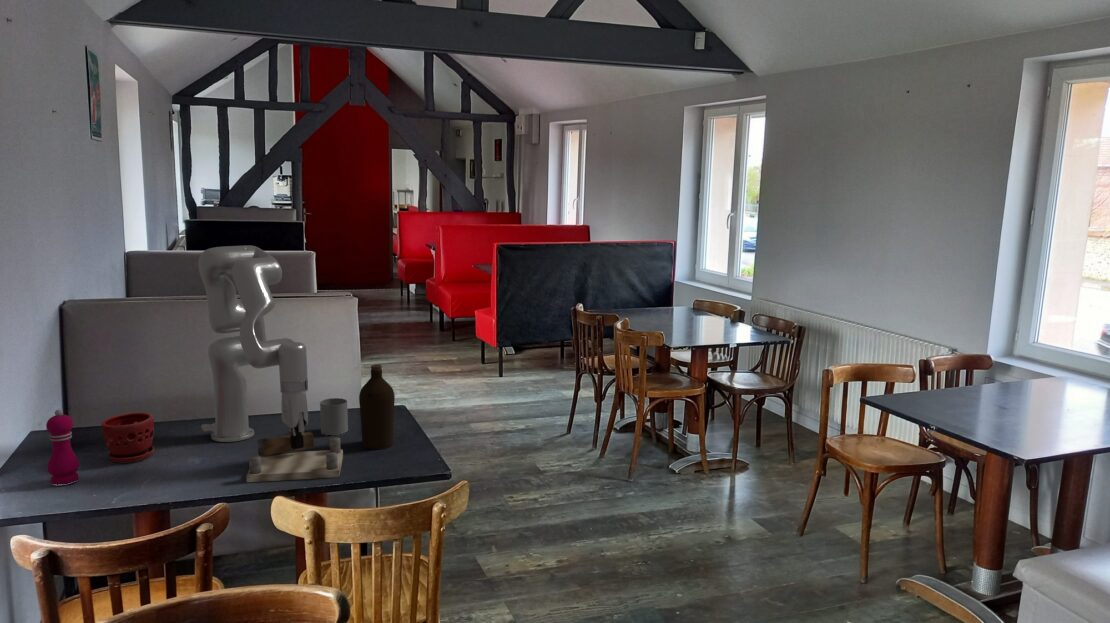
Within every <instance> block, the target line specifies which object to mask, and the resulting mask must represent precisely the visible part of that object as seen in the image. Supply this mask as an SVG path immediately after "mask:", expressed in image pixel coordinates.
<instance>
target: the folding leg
mask: <svg viewBox="0 0 1110 623" xmlns="http://www.w3.org/2000/svg"><path fill="white" fill-rule="evenodd" d="M290 435H292V434H287V435H279V436H273V437H266V438H261V439H258V440H257V454H258V455H270V454H276V453H285V452H296V451H300V450H306V449H313V448H314V447H315V444H314V433H313V432H312V431H306V432H305V431H304V432H303V442H304V447H303V448H299V449H292V448H291V440H290Z"/></svg>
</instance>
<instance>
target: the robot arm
mask: <svg viewBox="0 0 1110 623" xmlns="http://www.w3.org/2000/svg"><path fill="white" fill-rule="evenodd" d="M198 270H199V271H198V272H199V275H200V278H201V280H202V283H203V286H204V288H205V289H204V290H205V293H206V301H207V302H206V303H207V309H208V317H209V318H208V319H209V324H210V327H211V330H212V331H213V332H214V333H216V334H220V335H221V334H231V333H239V335H235V336H230V337H223V338H219V339H215V340H214V341H213V342H212V343H210V345H209V346H208V350H207V355H208V360H209V364H210V367H211V372H212V381H213V395H214V396H213V397H214V398H213V399H214V400H213V401H214V414H215V417H214V418H215V422H213V423H212V424H206V423H205V424H201V427H200V428H201V431H203V432H204V433H209V432H210V433H211V434H210V436H211V437H210V439H211V440H213V441H214V442H219V443H231V442H233V443H234V442H239V441H244V440H247V439H249V438H251V437H253V436H254V435H255V430H254V429H253V427H252V428H251V427H250V426H249V406H248V404H249V403H248V387H247V379H246V377H245V376H244V374H243V373H242V372H241V371H240V369H239V368H241V367H244V366H249V365H250V366H251V367H252V368H254V369H267V368H272V367H276V366H278V370H279V371H278V372H279V386H280V390H279V391H280V394H281V404H280V405H281V406H280V407H281V408H280V409H281V421H282V422H283V424H285V425H286V426H287V427H289V435H290V440H291V448H292V449H299V448H303V447H304V442H303V433H304V432H305V426H308V424H309V411H308V399H307V398H308V397H307V392H308V391H309V381H308V380H309V379H308V378H309V377H308V360H307V358H308V357H307V347H306V345H305V344H304V343H303V342H299V341H298V342H297V341H294V340H293V339H291V338H286V337H284V338H277V339H269V340H267V335H266V327H265V318H264V316H266V315H267V314H269V313H270V312H271V311H273V309H274V308H275V305H276V302H275V300H274V297H273V294H272V293H271V290H270V287H269V286H273V285H277V284H278V283H280V282H281V280H282V278H283V270H282V267H281V265H280V262H279V261H278V260H277V259H276V258H275V257H274V256H272V254H269V253H268V252H266V251H265V250H263V249H261V248H260V247H258V246H256V245H251V244H250V245H249V244H248V245H231V246H230V245H227V246H216V247H210V248H207V249H205V250H204V251H202V253H201V254H200V255H199V259H198ZM227 275H231V278H232V280H233V281H232V280H231V279H230V278H229V277H228V276H227ZM233 282H234V283H233ZM237 293H238V296H239V298H240V300H238V298H237ZM291 434H292V435H291Z"/></svg>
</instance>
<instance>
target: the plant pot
mask: <svg viewBox="0 0 1110 623" xmlns="http://www.w3.org/2000/svg"><path fill="white" fill-rule="evenodd" d="M154 424H155V423H154V416H153V415H152V414H151V413H147V412H130V413H129V412H128V413H123V414H119V415H115V416H111V417H108V418H106V419H105V420H103V421H102V422H101V433H102V437H103V441H104V443H105V447H107V449H108V451H109V452H110V453H109V455H108V458H109V459H110V460H111V461H112V462H113V463H114V462H115V463H117V464H118V463H121V464H123V463H124V464H129V463H133V462H134V463H137V462H139V461H143V460H146V459H147V458H149V457H151V456H152V455H153V454H154V452H155V446H152V445H153V444H152V443H153V440H154V434H155V425H154Z"/></svg>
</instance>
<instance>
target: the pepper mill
mask: <svg viewBox="0 0 1110 623" xmlns="http://www.w3.org/2000/svg"><path fill="white" fill-rule="evenodd" d="M73 427H74V421H73V418H72V417H71V416H70V415H67V414H64V413H63V410H62V409H59V408H58V409H56V410H55V411H54V415H53V416H51V417H49V419H48V420H47V421H46V430H47V432H49V433H50V434H49V436H48V437H49V441H51V443H52V452H51V455H50V457H49V460H48V462H47V468H46V469H47V472H48V474H49V475H51V477H50V484H51V483H52V484H57V485H58V484H68V483H71V482H74V481H77V480H78V479H79V473H78V472H77V471H78V470H79V468H80V461H79V458H78V456H77V455H76V453H75V451H74V450H73V448H72V445H71V439H72V437H73V433H72V431H71V430H72V429H73ZM79 480H80V479H79ZM79 480H78V481H79ZM78 481H77V482H78Z"/></svg>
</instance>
